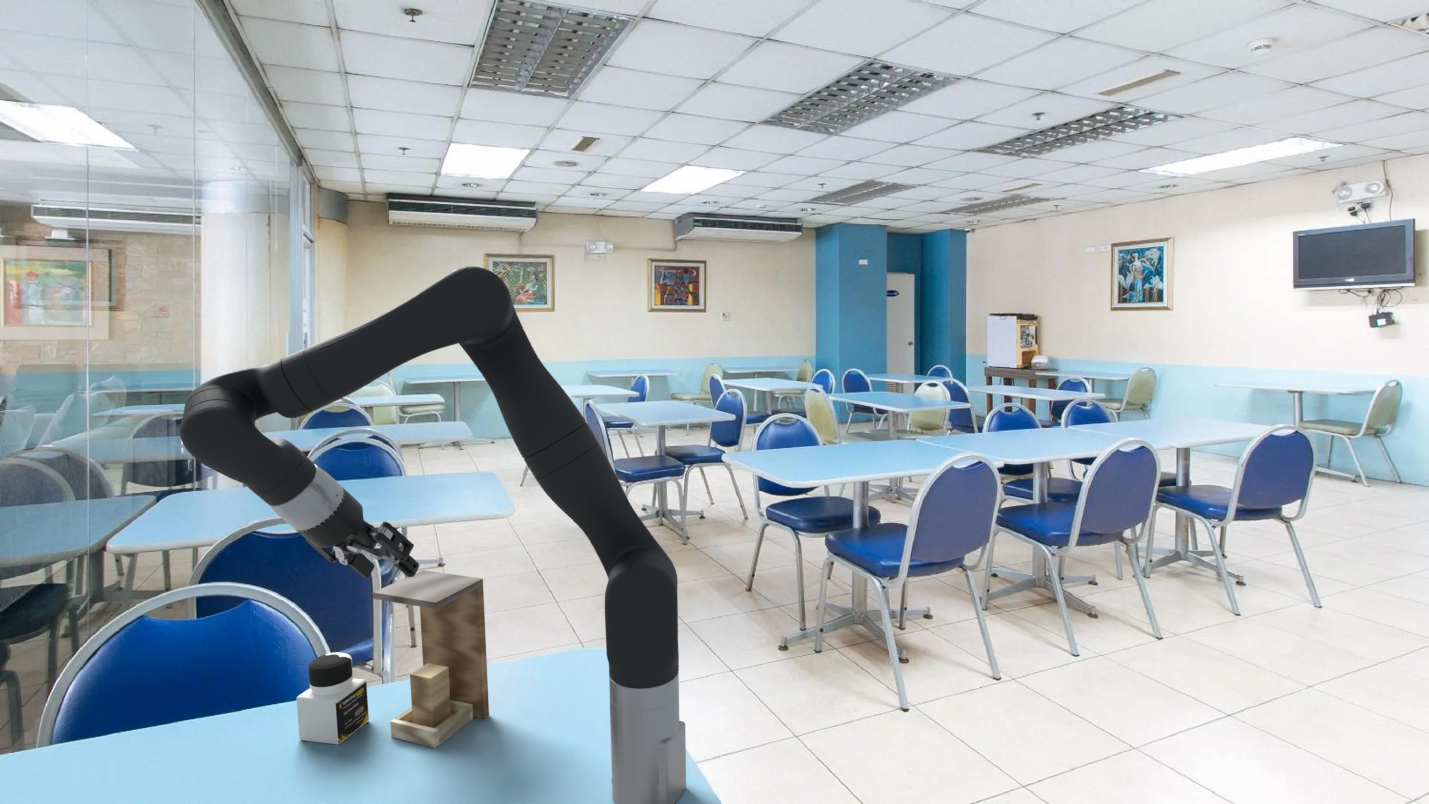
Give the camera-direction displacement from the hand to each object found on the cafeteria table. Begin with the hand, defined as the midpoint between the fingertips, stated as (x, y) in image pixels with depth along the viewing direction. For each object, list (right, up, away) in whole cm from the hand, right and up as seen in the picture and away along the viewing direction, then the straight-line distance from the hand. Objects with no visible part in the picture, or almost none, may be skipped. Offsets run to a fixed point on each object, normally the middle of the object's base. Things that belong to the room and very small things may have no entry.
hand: (391, 571), depth 107 cm
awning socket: (+2, -27, +10) cm, 29 cm away
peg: (+2, -27, +10) cm, 29 cm away
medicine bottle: (-13, -27, +10) cm, 32 cm away
